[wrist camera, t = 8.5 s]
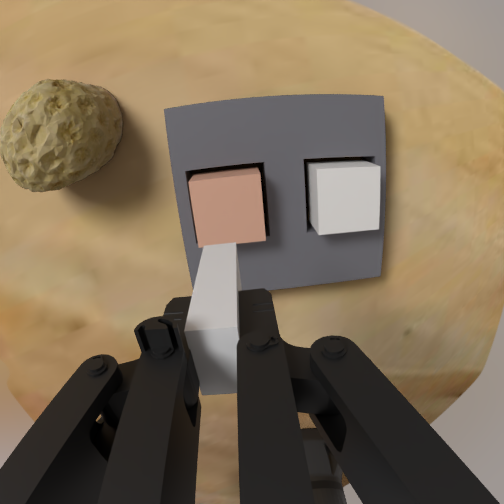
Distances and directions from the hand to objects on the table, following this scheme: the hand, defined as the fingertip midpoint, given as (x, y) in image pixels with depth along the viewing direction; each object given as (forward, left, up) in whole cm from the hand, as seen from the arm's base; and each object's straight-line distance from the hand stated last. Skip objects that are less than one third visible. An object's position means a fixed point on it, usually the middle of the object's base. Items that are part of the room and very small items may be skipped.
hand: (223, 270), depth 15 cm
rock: (+8, +13, -14) cm, 21 cm away
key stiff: (0, 0, -12) cm, 12 cm away
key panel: (0, -5, -14) cm, 14 cm away
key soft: (0, -9, -12) cm, 15 cm away
